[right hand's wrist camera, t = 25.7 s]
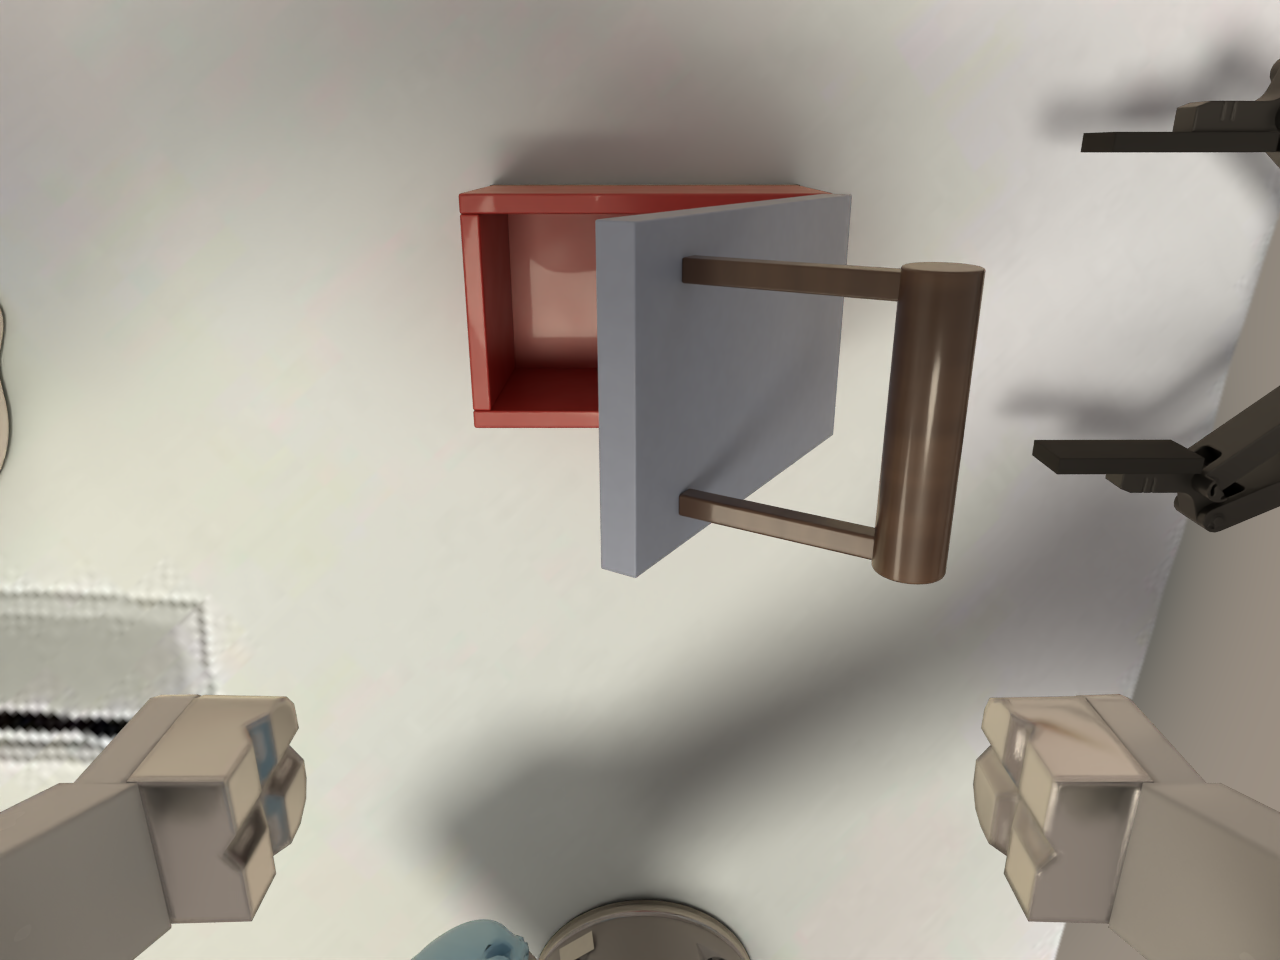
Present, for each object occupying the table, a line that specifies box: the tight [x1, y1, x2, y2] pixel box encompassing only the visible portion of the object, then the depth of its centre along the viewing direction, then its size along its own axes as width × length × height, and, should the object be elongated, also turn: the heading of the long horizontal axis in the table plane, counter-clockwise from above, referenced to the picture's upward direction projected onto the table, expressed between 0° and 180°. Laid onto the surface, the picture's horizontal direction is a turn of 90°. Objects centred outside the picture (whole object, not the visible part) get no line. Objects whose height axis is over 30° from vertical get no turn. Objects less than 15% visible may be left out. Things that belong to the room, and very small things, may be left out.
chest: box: [459, 185, 832, 428], centre depth 41 cm, size 15×10×9 cm, turn 90°
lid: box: [595, 194, 985, 584], centre depth 28 cm, size 16×10×9 cm
